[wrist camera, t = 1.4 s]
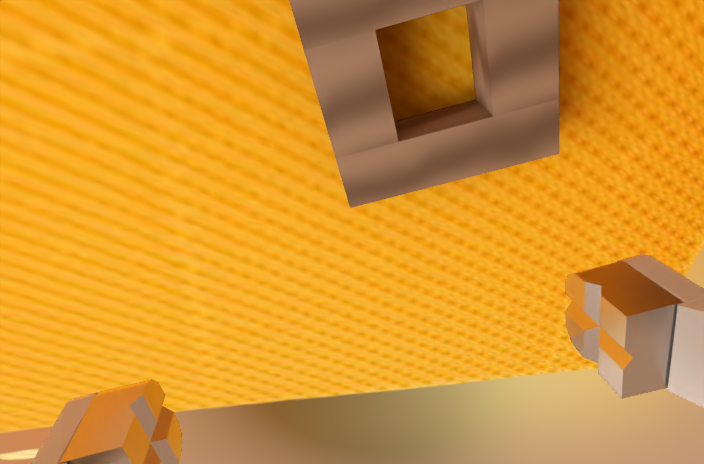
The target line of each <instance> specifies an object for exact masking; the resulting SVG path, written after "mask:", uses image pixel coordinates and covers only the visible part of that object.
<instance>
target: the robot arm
mask: <svg viewBox="0 0 704 464" xmlns="http://www.w3.org/2000/svg"><path fill="white" fill-rule="evenodd" d="M565 293H566V294H567V295H568V296H569V297H570V298H571V299H572V300H573V301H572V302H571V304H570V305H569V307H568V308H567V310H566V312H565V315H566V327H567V330H568V333H569V336H570V339H571V341H572V343H573V344H574V346H575V348H576V349H577V350H578V351H579V352H580V354H581V355H582V356H583V357H584V358H587V359H589V360H592V361H594V362H597V363H599V365H598V373H599V374H600V375H601V377H602V378H603V379H604V380H605V381H606V382H607V383H608V384H609V385H610V386H611V387H612V389H613V390H614V391H615V392H616V393H617V394H618V395H619V396H620V397H621V398H626V397H630V396H635V395H639V394H643V393H648V392H652V391H656V390H660V389H665V388H668V391H671V392H672V393H675V394H677V395H679V396H681V397H683V398H685V399H687V400H689V401H691V402H693V403H695V404H697V405H700V406H701V407H703V408H704V289H703V288H702V287H700V286H699V285H697V284H695V283H694V282H692V281H690V280H689V279H687V278H686V277H684V276H682V275H681V274H679V273H677V272H676V271H674V270H673V269H671V268H669V267H668V266H666V265H664V264H663V263H661V262H660V261H658V260H656V259H655V258H653V257H651V256H649V255H643V254H641V255H637V256H634V257H630V258H627V259H623V260H620V261H617V262H616V263H612V264H608V265H604V266H600V267H596V268H592V269H589V270H585V271H581V272H577V273H573V274H569V275H568V276H567V279H566V282H565ZM164 398H165V393H164V392H163V390H162V388H161V386H160V384H159V383H158V382H157V381H154V380H148V381H144V382H140V383H135V384H131V385H127V386H122V387H118V388H114V389H109V390H105V391H101V392H99V393H93V394H89V395H85V396H81V397H77V398H74V399H72V400H71V401H69V402H67V403H66V405H65V407H64V409H63V410H62V412H61V414H60V415H59V417H58V419H57V421H56V422H55V424H54V426H53V427H52V429H51V431H50V433H49V434H48V436H47V438H46V440H45V441H44V443H43V445H42V446H41V448H40V450H39V451H38V453H37V455H36V456H35V458H34V460H33V461H32V463H31V464H178V463H179V461H180V456H181V451H182V433H181V429H180V425H179V422H178V420H177V418H176V415H175V413H174V412H173V411H171V410H169V409H167V408H165V407H163V406H162V404H163V401H164Z"/></svg>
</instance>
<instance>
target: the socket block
mask: <svg viewBox="0 0 704 464" xmlns="http://www.w3.org/2000/svg"><path fill="white" fill-rule="evenodd" d="M290 4H291V7H292V11H293V14H294V17H295V21H296V24H297V28H298V31H299V35H300V38H301V41H302V45H303V48H304V52H305V55H306V58H307V62H308V65H309V69H310V72H311V75H312V79H313V82H314V86H315V89H316V92H317V96H318V99H319V103H320V106H321V109H322V113H323V116H324V120H325V123H326V127H327V130H328V133H329V137H330V140H331V144H332V147H333V150H334V154H335V157H336V161H337V164H338V167H339V171H340V174H341V178H342V181H343V184H344V188H345V191H346V195H347V198H348V201H349V205H350V208H352V207H355V206H359V205H363V204H367V203H371V202H375V201H379V200H382V199H386V198H390V197H394V196H398V195H402V194H406V193H409V192H413V191H417V190H421V189H425V188H429V187H433V186H436V185H440V184H444V183H448V182H452V181H456V180H460V179H463V178H467V177H471V176H475V175H479V174H483V173H487V172H490V171H494V170H498V169H502V168H506V167H510V166H514V165H517V164H521V163H525V162H529V161H533V160H537V159H541V158H544V157H548V156H552V155H556V154H559V8H558V0H290ZM465 4H466V10H467V19H468V29H469V38H470V48H471V57H472V67H473V77H474V86H475V96H476V100H473V101H470V102H466V103H462V104H459V105H455V106H451V107H448V108H444V109H440V110H436V111H433V112H429V113H425V114H422V115H418V116H414V117H411V118H407V119H403V120H400V121H396V122H394V118H393V113H392V108H391V103H390V98H389V94H388V89H387V84H386V79H385V74H384V70H383V65H382V60H381V55H380V50H379V46H378V41H377V36H376V31H375V30H377V29H381V28H384V27H388V26H391V25H395V24H398V23H402V22H405V21H409V20H412V19H416V18H419V17H423V16H426V15H430V14H433V13H437V12H440V11H444V10H447V9H451V8H454V7H458V6H461V5H465Z"/></svg>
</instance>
